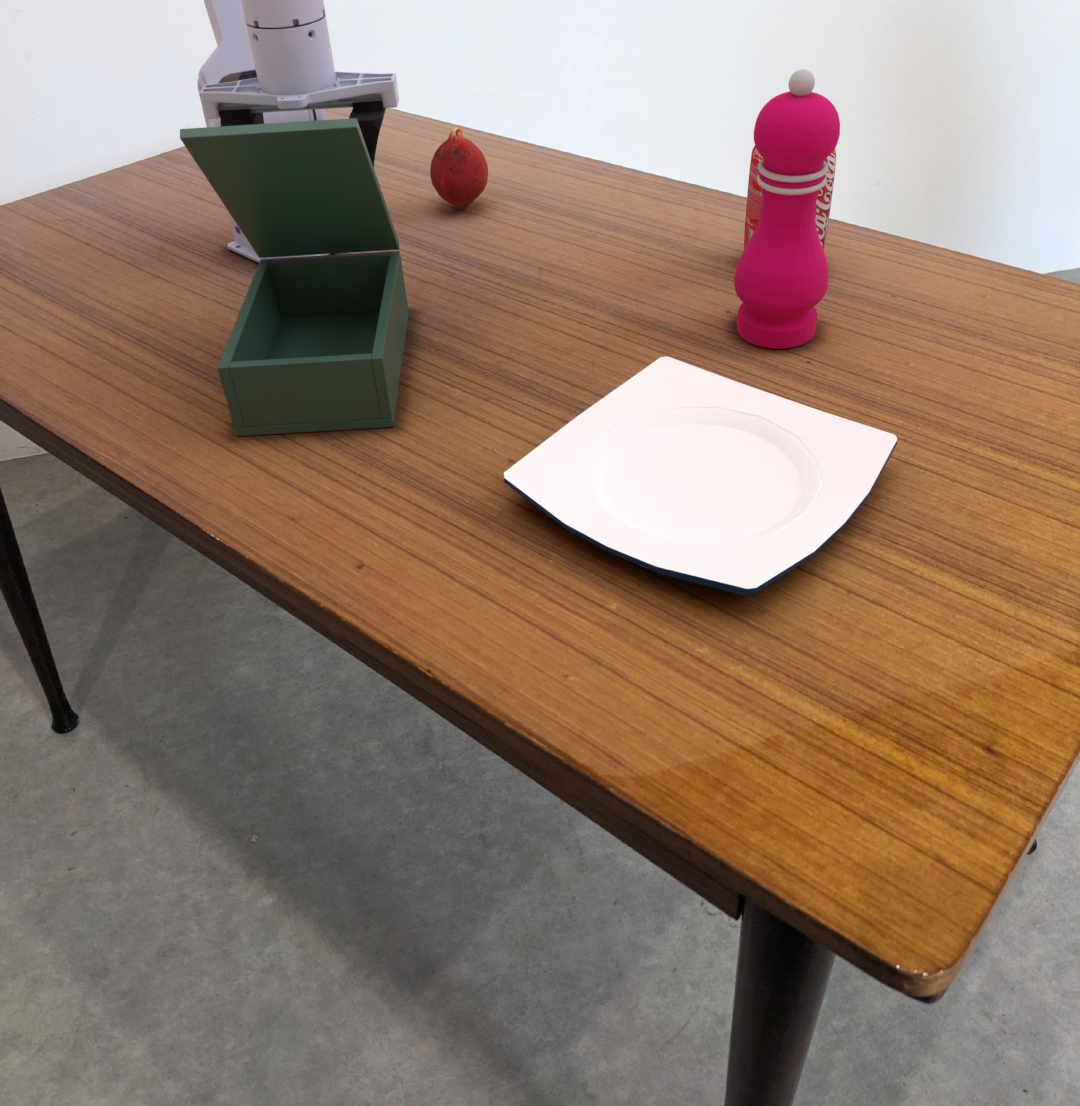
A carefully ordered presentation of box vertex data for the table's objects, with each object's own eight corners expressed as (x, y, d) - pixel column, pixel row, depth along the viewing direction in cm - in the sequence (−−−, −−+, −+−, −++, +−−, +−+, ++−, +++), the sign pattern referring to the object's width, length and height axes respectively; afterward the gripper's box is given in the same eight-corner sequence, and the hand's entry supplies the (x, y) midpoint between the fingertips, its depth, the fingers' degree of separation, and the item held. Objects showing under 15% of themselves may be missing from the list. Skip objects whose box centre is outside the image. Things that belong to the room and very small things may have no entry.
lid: (357, 127, 68) (354, 63, 69) (179, 138, 68) (179, 74, 69) (399, 249, 86) (397, 198, 87) (259, 258, 86) (258, 207, 87)
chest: (393, 427, 77) (382, 357, 73) (236, 436, 77) (216, 367, 73) (409, 314, 90) (399, 250, 87) (275, 322, 91) (260, 258, 87)
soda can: (817, 249, 96) (835, 114, 88) (826, 285, 91) (845, 144, 83) (739, 250, 97) (750, 116, 89) (743, 285, 91) (754, 145, 84)
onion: (489, 218, 105) (482, 137, 100) (432, 221, 105) (422, 140, 100) (492, 196, 109) (486, 117, 104) (437, 198, 110) (428, 120, 105)
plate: (659, 377, 81) (660, 346, 79) (912, 467, 70) (920, 434, 68) (482, 510, 69) (479, 477, 67) (754, 642, 59) (759, 607, 57)
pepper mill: (821, 355, 82) (858, 86, 69) (727, 350, 83) (747, 85, 70) (821, 311, 87) (856, 54, 74) (733, 307, 88) (752, 54, 75)
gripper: (172, 39, 72) (220, 228, 81) (381, 27, 72) (407, 217, 81) (194, 13, 78) (238, 193, 87) (389, 1, 78) (413, 182, 86)
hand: (320, 202), depth 84 cm, fingers open, 7 cm apart
